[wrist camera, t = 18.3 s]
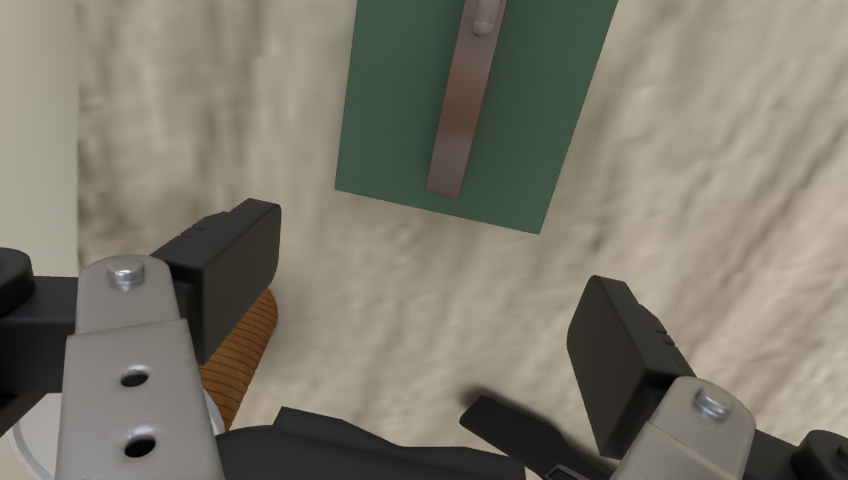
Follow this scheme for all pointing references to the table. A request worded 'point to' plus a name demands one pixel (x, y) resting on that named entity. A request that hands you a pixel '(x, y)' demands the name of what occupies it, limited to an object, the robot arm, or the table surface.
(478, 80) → the brown bar with hook
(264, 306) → the disposable coffee cup
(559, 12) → the mat
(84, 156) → the table surface
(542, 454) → the electric trimmer
